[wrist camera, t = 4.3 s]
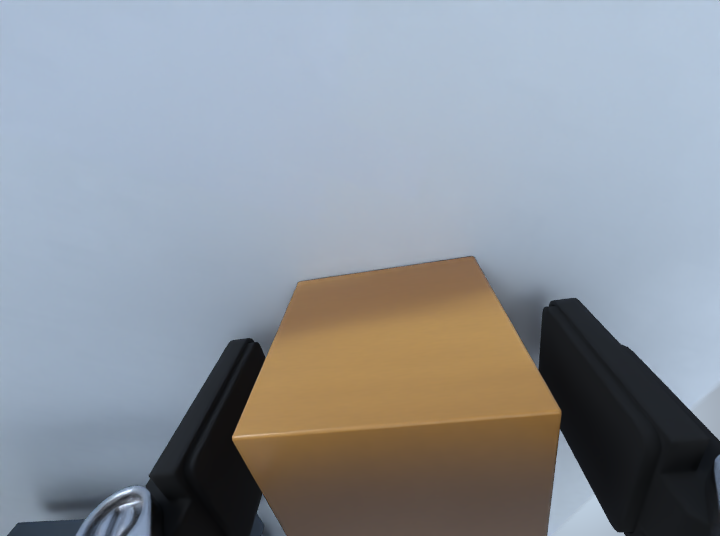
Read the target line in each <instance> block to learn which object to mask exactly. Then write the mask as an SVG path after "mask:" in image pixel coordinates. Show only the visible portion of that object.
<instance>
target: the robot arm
mask: <svg viewBox="0 0 720 536" xmlns="http://www.w3.org/2000/svg"><path fill="white" fill-rule="evenodd" d="M265 359H266V358H265V355H264V353H263V351H262V348H261V346H260V344H259V343H258V342H254V340H253V339H251V338H246V339H238V340H232V341H230V342H229V344H228V345H227V347H226V348H225V350H224V352H223V353H222V355H221V357H220V358H219V360H218V362H217V363H216V365H215V367H214V368H213V370H212V372H211V373H210V375H209V377H208V378H207V380H206V382H205V383H204V385H203V387H202V388H201V390H200V392H199V393H198V395H197V397H196V398H195V400H194V401H193V403H192V405H191V406H190V408H189V410H188V411H187V413H186V415H185V416H184V418H183V420H182V421H181V423H180V425H179V426H178V428H177V430H176V431H175V433H174V435H173V436H172V438H171V440H170V441H169V443H168V445H167V446H166V448H165V450H164V451H163V453H162V454H161V456H160V458H159V459H158V461H157V463H156V464H155V466H154V468H153V469H152V471H151V473H150V474H149V477H150V480H149V481H148V483H147V485H146V487H143V486H139V485H136V486H129V487H126V488H124V489H122V490H119V491H117V492H115V493H114V494H112V495H111V496H109V497H108V498H106V499H105V500H104V501H103V502H102V503H101V504H99V505H98V506H97V507H96V508H95V509H94V510H93V511H92V512H91V513H90V515H89V516H88V517H87V518H86V519H85V520H84V522H83V524H82V525H81V527H80V528H79V530H78V532H77V533H76V536H250V534H251V530H252V527H253V523H254V520H255V517H256V513H257V510H258V506H259V503H260V500H261V496H262V491H261V490H260V488H259V486H258V484H257V483H256V481H255V479H254V477H253V476H252V474H251V472H250V470H249V469H248V467H247V465H246V463H245V462H244V460H243V458H242V456H241V455H240V453H239V451H238V449H237V448H236V446H235V444H234V442H233V441H232V436H233V434H234V432H235V429H236V427H237V424H238V422H239V420H240V417H241V415H242V413H243V410H244V408H245V406H246V403H247V401H248V399H249V396H250V394H251V392H252V389H253V387H254V385H255V382H256V380H257V378H258V375H259V373H260V371H261V368H262V366H263V364H264V361H265ZM539 372H540V374H541V376H542V378H543V379H544V381H545V383H546V385H547V386H548V388H549V390H550V392H551V393H552V395H553V397H554V399H555V401H556V402H557V404H558V406H559V408H560V409H561V413H562V414H561V422H560V429H561V431H562V433H563V435H564V437H565V439H566V441H567V443H568V445H569V446H570V448H571V450H572V452H573V454H574V456H575V458H576V460H577V461H578V463H579V465H580V467H581V469H582V471H583V473H584V475H585V477H586V478H587V480H588V482H589V484H590V486H591V488H592V490H593V492H594V494H595V495H596V497H597V499H598V501H599V503H600V504H601V507H602V509H603V510H604V512H605V514H606V516H607V518H608V520H609V522H610V523H611V525H612V526H613V528H614V529H615V530H616V531H617V532H624V534H625V535H626V536H720V441H719V440H718V439H717V438H716V437H715V436H714V435H713V434H712V433H711V431H709V429H707V427H706V426H705V425H704V424H703V423H702V422H701V421H700V420H699V419H698V418H697V417H696V416H695V415H694V414H693V413H692V412H691V411H690V410H689V409H688V408H687V407H686V406H685V405H684V404H683V403H682V402H681V400H680V399H679V398H678V397H677V396H676V395H675V394H674V393H673V392H672V391H671V390H670V389H669V388H668V387H667V386H666V385H665V384H664V383H663V382H662V381H661V380H660V379H659V378H658V377H657V376H656V375H655V374H654V373H653V372H652V371H651V369H650V368H649V367H648V366H647V365H646V364H645V363H644V362H643V361H642V360H641V359H640V358H639V357H638V356H637V355H636V354H635V353H634V352H633V351H632V350H631V349H629V348H628V347H626V346H624V345H621V344H620V343H619V342H618V341H617V340H616V339H615V338H614V337H613V336H612V335H611V334H610V333H609V332H608V331H607V329H606V328H605V327H604V326H603V325H602V324H601V323H600V322H599V321H598V320H597V319H596V318H595V317H594V316H593V315H592V314H591V313H590V311H589V310H588V309H587V308H586V307H585V306H584V305H583V304H582V303H581V302H580V301H579V300H578V299H576V298H569V299H561V300H553V301H551V302H550V304H549V307H544V308H543V312H542V327H541V342H540V357H539Z"/></svg>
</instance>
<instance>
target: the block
mask: <svg viewBox="0 0 720 536" xmlns="http://www.w3.org/2000/svg"><path fill="white" fill-rule="evenodd" d="M561 414H562V413H561V409H560V408H559V406H558V404H557V402H556V401H555V399H554V397H553V395H552V393H551V392H550V390H549V388H548V386H547V385H546V383H545V381H544V379H543V378H542V376H541V374H540V372H539V371H538V369H537V367H536V365H535V363H534V362H533V360H532V358H531V356H530V355H529V353H528V351H527V349H526V348H525V346H524V344H523V342H522V341H521V339H520V337H519V335H518V334H517V332H516V330H515V328H514V326H513V325H512V323H511V321H510V319H509V318H508V316H507V314H506V312H505V311H504V309H503V307H502V305H501V304H500V302H499V300H498V298H497V296H496V295H495V293H494V291H493V289H492V288H491V286H490V284H489V282H488V281H487V279H486V277H485V275H484V274H483V272H482V270H481V268H480V267H479V265H478V263H477V261H476V259H475V258H474V257H473V256H471V257H464V258H457V259H450V260H443V261H437V262H430V263H423V264H416V265H409V266H403V267H396V268H389V269H382V270H375V271H369V272H362V273H355V274H348V275H341V276H334V277H328V278H321V279H314V280H307V281H300V282H298V284H297V286H296V289H295V291H294V293H293V296H292V298H291V300H290V303H289V305H288V307H287V310H286V312H285V314H284V317H283V319H282V321H281V324H280V326H279V328H278V331H277V333H276V335H275V338H274V340H273V342H272V345H271V347H270V349H269V352H268V354H267V357H266V359H265V361H264V364H263V366H262V368H261V371H260V373H259V375H258V378H257V380H256V382H255V385H254V387H253V389H252V392H251V394H250V396H249V399H248V401H247V403H246V406H245V408H244V410H243V413H242V415H241V417H240V420H239V422H238V424H237V427H236V429H235V432H234V434H233V436H232V441H233V442H234V444H235V446H236V448H237V449H238V451H239V453H240V455H241V456H242V458H243V460H244V462H245V463H246V465H247V467H248V469H249V470H250V472H251V474H252V476H253V477H254V479H255V481H256V483H257V484H258V486H259V488H260V490H261V491H262V493H263V495H264V497H265V498H266V500H267V502H268V504H269V505H270V507H271V509H272V511H273V513H274V514H275V516H276V518H277V520H278V521H279V523H280V525H281V527H282V528H283V530H284V532H285V534H286V535H287V536H547V532H548V523H549V515H550V506H551V498H552V490H553V481H554V473H555V464H556V456H557V448H558V439H559V431H560V422H561Z"/></svg>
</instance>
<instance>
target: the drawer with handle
mask: <svg viewBox="0 0 720 536" xmlns="http://www.w3.org/2000/svg"><path fill="white" fill-rule="evenodd" d="M84 520H85V519H81V520H61V521H41V522H21V523H17V524H16V526H15V527H14V528H13V529H12V530H11V532H10V533H9V534H8V535H7V536H76V533H77V532H78V530H79V528H80V527H81V525H82V524H83V522H84ZM263 527H264V524H263V523H262V521H261V520H260V518H259V516H258V515H257V513H256V517H255V520H254V523H253V527H252V530H251V534H250V536H261V534H262V531H263Z"/></svg>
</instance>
